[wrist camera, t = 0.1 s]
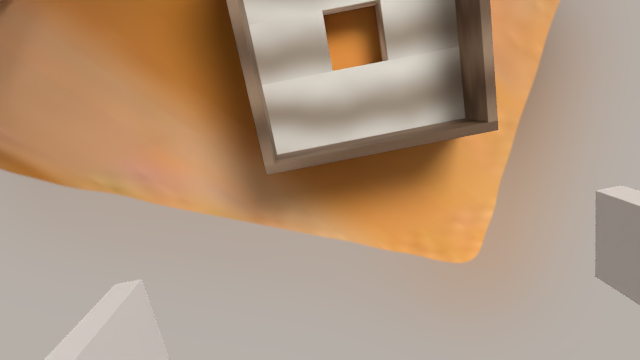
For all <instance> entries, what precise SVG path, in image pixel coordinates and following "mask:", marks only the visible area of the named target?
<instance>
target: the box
mask: <svg viewBox="0 0 640 360" xmlns="http://www.w3.org/2000/svg"><path fill="white" fill-rule="evenodd" d="M226 2H227V6H228V10H229V15H230V19H231V23H232V28H233V32H234V36H235V40H236V45H237V49H238V53H239V58H240V62H241V66H242V71H243V75H244V79H245V84H246V88H247V92H248V97H249V101H250V105H251V110H252V114H253V118H254V122H255V127H256V131H257V135H258V140H259V144H260V148H261V153H262V157H263V161H264V166H265V170H266V174H267V175H269V174H275V173H280V172H285V171H290V170H295V169H300V168H305V167H310V166H316V165H321V164H326V163H331V162H336V161H341V160H346V159H352V158H357V157H362V156H367V155H372V154H377V153H382V152H387V151H393V150H398V149H403V148H408V147H413V146H418V145H423V144H428V143H434V142H439V141H444V140H449V139H454V138H459V137H464V136H470V135H475V134H480V133H485V132H490V131H495V130H498V118H497V103H496V87H495V72H494V56H493V41H492V25H491V10H490V0H226ZM370 6H375V12H376V19H377V26H378V33H379V40H380V48H381V55H382V62H377V63H372V64H367V65H362V66H356V67H351V68H346V69H341V70H336V71H333V70H332V65H331V59H330V53H329V47H328V41H327V35H326V30H325V24H324V18H323V15H328V14H333V13H339V12H344V11H349V10H354V9H359V8H364V7H370Z"/></svg>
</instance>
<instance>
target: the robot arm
mask: <svg viewBox="0 0 640 360" xmlns="http://www.w3.org/2000/svg"><path fill="white" fill-rule="evenodd" d="M595 269H596V270H595V273H596V274H595V275H596V277H597V278H599V279H600V280H602V281H603V282H605V283H606V284H608V285H609V286H611V287H613V288H614V289H616V290H617V291H619V292H620V293H622V294H623V295H625V296H627V297H628V298H630V299H631V300H633V301H634V302H636V303H637V304H639V305H640V191H638V190H635V189H632V188H628V187H625V186H617V187H612V188H607V189H602V190H596V268H595ZM44 360H169V357H168V354H167V351H166V348H165V345H164V342H163V339H162V336H161V334H160V331H159V328H158V325H157V322H156V319H155V316H154V313H153V310H152V308H151V305H150V302H149V299H148V296H147V293H146V290H145V287H144V284H143V281H142V279H140V280H135V281H129V282H124V283H119V284H115V285H114V286H113V287H112V288H111V289H110V290H109V291H108V292H107V293H106V294H105V296H104V297H103V298H102V299H101V300H100V301H99V302H98V303H97V304H96V305H95V306H94V307H93V308H92V309H91V310H90V311H89V312H88V314H87V315H86V316H85V317H84V318H83V319H82V320H81V321H80V322H79V323H78V324H77V325H76V326H75V327H74V329H72V330H71V332H70V333H69V334H68V335H67V336H66V337H65V338H64V339H63V340H62V341H61V342H60V343H59V344H58V345H57V346H56V347H55V349H54V350H53V351H52V352H51V353H50V354H49V355H48V356H47V357H46V358H45V359H44Z"/></svg>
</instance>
